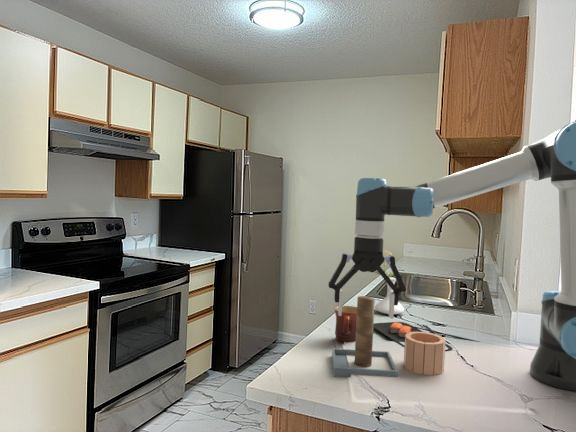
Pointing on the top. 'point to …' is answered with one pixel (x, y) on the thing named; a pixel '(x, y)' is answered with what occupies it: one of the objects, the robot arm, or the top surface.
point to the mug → (346, 324)
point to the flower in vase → (388, 293)
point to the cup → (424, 353)
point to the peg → (364, 331)
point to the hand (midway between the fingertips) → (365, 315)
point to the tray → (343, 368)
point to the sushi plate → (405, 331)
